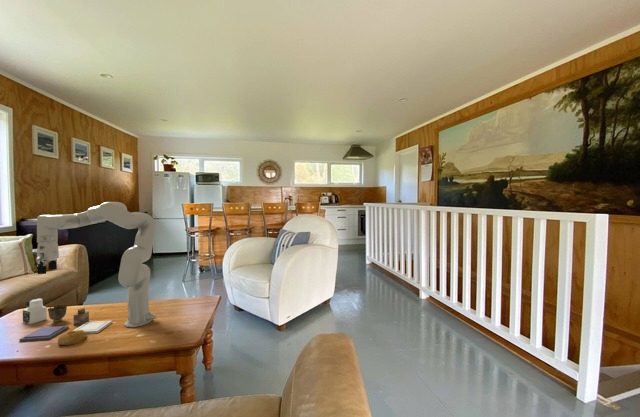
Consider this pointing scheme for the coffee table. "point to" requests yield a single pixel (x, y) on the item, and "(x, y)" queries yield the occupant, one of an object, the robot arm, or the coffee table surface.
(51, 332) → the ink pad
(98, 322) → the board
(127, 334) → the coffee table surface
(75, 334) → the bagel
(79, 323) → the stamp
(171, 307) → the coffee table surface
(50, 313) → the cup
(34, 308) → the medicine bottle
